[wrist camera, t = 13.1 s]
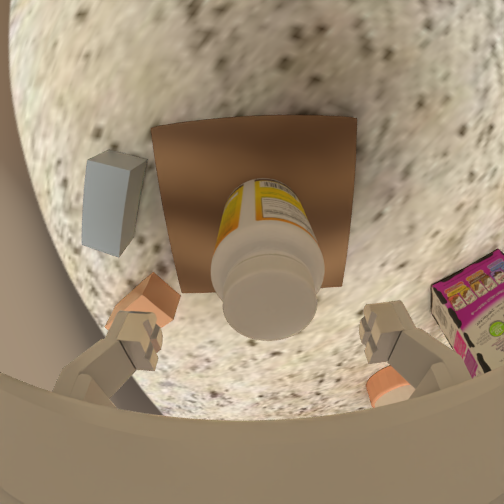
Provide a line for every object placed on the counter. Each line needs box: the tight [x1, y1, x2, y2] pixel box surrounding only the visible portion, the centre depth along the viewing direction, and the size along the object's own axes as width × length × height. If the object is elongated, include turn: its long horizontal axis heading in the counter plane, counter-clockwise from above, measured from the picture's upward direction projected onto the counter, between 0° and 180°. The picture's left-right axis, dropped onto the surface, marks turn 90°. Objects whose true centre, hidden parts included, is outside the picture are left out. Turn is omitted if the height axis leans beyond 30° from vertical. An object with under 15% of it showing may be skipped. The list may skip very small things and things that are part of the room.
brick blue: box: [82, 150, 148, 257], centre depth 19 cm, size 7×4×4 cm, turn 161°
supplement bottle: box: [211, 178, 325, 341], centre depth 16 cm, size 6×6×10 cm
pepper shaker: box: [366, 366, 415, 408], centre depth 26 cm, size 7×7×19 cm
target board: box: [151, 115, 357, 293], centre depth 21 cm, size 14×14×1 cm
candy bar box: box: [431, 249, 504, 379], centre depth 18 cm, size 11×5×16 cm, turn 115°
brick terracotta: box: [105, 272, 181, 330], centre depth 25 cm, size 7×4×4 cm, turn 130°
